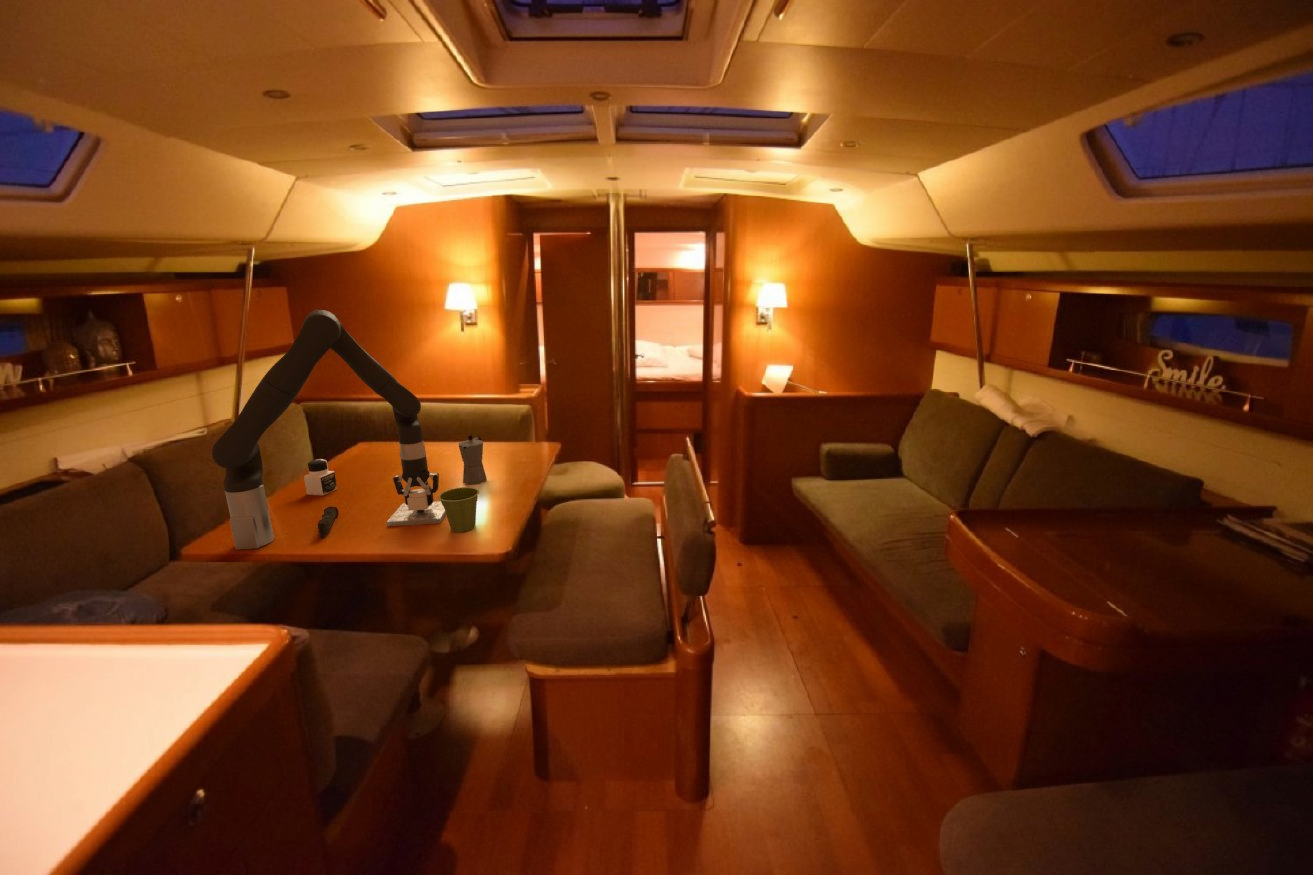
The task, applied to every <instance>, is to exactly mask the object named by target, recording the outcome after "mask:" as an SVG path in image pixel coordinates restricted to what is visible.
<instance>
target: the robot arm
mask: <svg viewBox="0 0 1313 875" xmlns="http://www.w3.org/2000/svg"><path fill="white" fill-rule="evenodd" d="M329 350H332V352H334V353H335V354H336V355H338V356H339V357H340V358H341V359H342V360H343V361H344V362H345V363H346V364H347V365H348V367H350V369H351V370H352V371H353V372H354V374H356V376H357V377H358V378H359V379H360V380H361V381H362V382H363V383H364V384H365V385H366V386H367V387H369V388H370V389H371V390H372V392H374V393H375V394H376V395H378V396H379V397H381V398H383V399H384V400H385V401H386V402H387V403H388V404H389V405H390V406H391V408H392V412H393V416H394V420H395V423H396V427H397V434H398V435H397V436H398V442H399V457H400V462H401V470H402V474H400V475H398V474H396V475H394V476H393V478H392V481H393V483H394V487H395V490H396V494H397V495H401V496H403V497H404V503H406V505H408V502H407V498H408V497H409V492H410V491H412V490H411V489H412V488H413V487H421V489H424V490H425V491H426V493H427V501H428V506H430V505H431V504H432V503H433V502H435V501H434V495H433V494H434V493H437V491H438V490H439V482H440V481H439V480H440V479H439V478H440V473H438V472H436V473H431V472H430V471H429V469H428V468H429V466H428V459H427V452H426V446H425V442H424V435H423V428H422V425H421V424H420V422H419V419H418V414H419V413H420V412H421V409H422V404H421V401H420V399H419V398H418V397H417V395H415V394H414V393H413V392H412V391H410V390H409V389H408V388H406V387H405V386H404V385H402V384H401V383H400V382H399V381H398V380H397V379H396V378H395V376H393V375H392V373H390V372H389V371H388V370H387V369H386V368H385V367H384V366H383V365H381V364H380V363H379V362H378V361H377V360H376V359H375V358H374V357H372V356H371V354H369V353H368V352H367V351H366V350H365V349H364V348H362V346H361V345H360V344H359V343H358V342H357V341H356V340H355V339H354V338H353V337H352V336H351V334H349V332H348V331H347V330H346V329H345V327H344V326H343V325H342V322H340V321H339V319H338V318H337V317H336V315H335V314H334V313H332V312H331V311H328V310H325V309H315V310H312V311H311V312H308V313H307V315H305V318H304V320H303V323H302V326H301V329H300V331H299V332H298V335H297V336H296V338H295V339H294V342H293V343H292V344H291V346H290V348H289V349H288V350H287V351H286V353H284V355H283V356H281V357H280V359H278V360H277V361H276V362H275V363H274V364H273V365H272V366H271V367H270V369H268V370H267V372H266V373H265V375H264V376H263V377H262V378H261V380H260V381H259V383H257V386H256V387H255V388H254V390H253V392H252V393H251V395H250V396H249V398H248V400H246V403H245V404H244V406H243V408H242V409H241V412H240V413H239V415H238V416H237V418H236V419H235V420H234V421H233V423H231V424H230V426H229V428H227V430H226V431H224V433H223V434H222V435H221V436H220V437H219V438H218V439H217V440H216V441H215V442H214V443H213V446H212V447H211V457H212V460H213V462H214V463H215V464H216V465H217V466H218V467H221V468H223V469H225V475H224V479H223V484H222V485H223V488H224V494H225V498H226V502H227V508H228V511H229V516H230V518H229V524H230V528H231V533H232V537H233V542H234V546H235V550H249V549H250V550H251V549H259V548H261V547H263V546H266V545H268V544H270V543H272V542H273V541H274V540H275V536H274V530H273V526H272V521H271V516H270V512H269V511H270V510H269V506H268V501H267V497H266V490H265V486H264V482H263V481H264V480H263V478H264V477H263V476H264V466H263V465H264V464H263V459H262V454H261V449H260V448H261V447H260V445H259V440H260V439H261V438H262V437H263V434H265V432H266V431H267V430H268V428H269V427H271V425H273V424H274V423H275V422H276V421H277V420H278V419H279V418H280V417H281V416H282V415H283V414H284V413H285V411H287V409H288V408H289V407H290V406H291V404H292V403H293V402H294V400H295V399H296V398H297V396H298V395H299V393H300V392H301V390H302V388H303V387H304V385H305V384H306V382H307V381H308V379H309V377H310V376H311V373H312V371H313V369H314V368H315V366H316V365H317V364H318V362H320V360H321V359H322V358H323V357H324V355H325V354H327V352H329ZM429 478H430V479H431V481H432V487H431V485H430V482H429V481H428V480H429ZM402 481H405V483H406V486H405V488H404V487H403V484H402Z"/></svg>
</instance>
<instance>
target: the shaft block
mask: <svg viewBox="0 0 1313 875" xmlns="http://www.w3.org/2000/svg"><path fill="white" fill-rule="evenodd" d="M445 516H446V512H445V509H444V506H443V505H442V502H441V500H440V501H433V503H432V504H431V505H430V506H429V507H428V509H427V510H411V511H409V509H408V505H406V503H405V502H404V503H402V504H400V506H399V507H398V508H397V509H396V510H395V512H394V513H393V514H392V515H391V516H390V518H389V519H387V521H386V526H387V527H397V526H417V525H419V526H420V525H433V524H434V525H436V524H441V523H442V521H443V520H444V518H445Z"/></svg>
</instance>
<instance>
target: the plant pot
mask: <svg viewBox="0 0 1313 875" xmlns="http://www.w3.org/2000/svg"><path fill="white" fill-rule="evenodd" d="M479 494H480V490H479V489H477V488H476V487H470V486H468V487H467V486H466V487H465V486H464V487H463V486H462V487H456V488H450V489H447V490H444V491H443V492H441V493H440V494H439V495H438V500H440V501H441V502H442V505H443V506H444V509H445V512H446V515H445V516H446V519H447V522H448V526H449V528H450V530H451V532H454V533H463V532H465V531H466V532H469V531H471V530H473V529H474V528H475V527H476V524H477V523H476V522H477V504H478V503H477V502H478V498H479V496H478V495H479Z"/></svg>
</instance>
